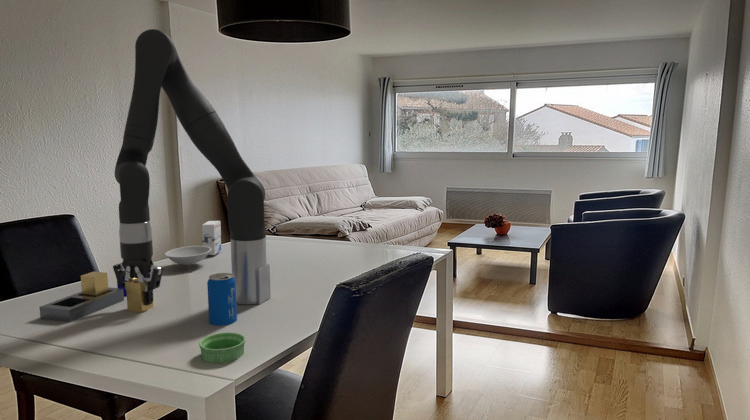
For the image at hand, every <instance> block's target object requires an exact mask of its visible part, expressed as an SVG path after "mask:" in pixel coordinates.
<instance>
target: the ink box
mask: <svg viewBox="0 0 750 420" xmlns="http://www.w3.org/2000/svg"><path fill="white" fill-rule="evenodd" d="M221 226H222V225H221V220H208V221H206V222H205V223H203V224H201V237H202V238H201V239H202V240H201V242H202V243H201V244H202V245H201V246H207V247H211V248H212V250H211V251H210V252H209V254H208V255H207V256H215V255H217V254H218V253H219V252H221V250H222V230H221Z"/></svg>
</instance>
